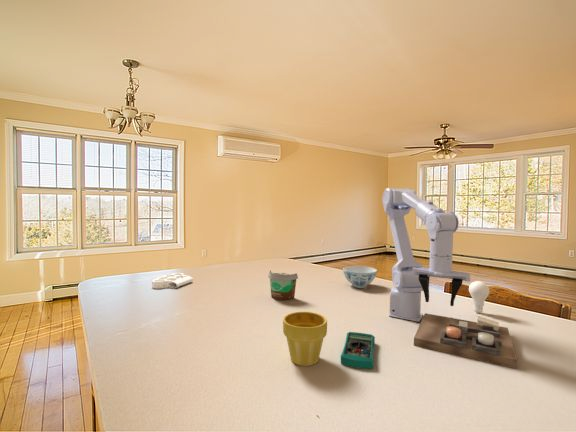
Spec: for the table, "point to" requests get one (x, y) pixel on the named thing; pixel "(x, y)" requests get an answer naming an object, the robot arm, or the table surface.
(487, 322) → the block
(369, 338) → the digital multimeter
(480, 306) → the lightbulb
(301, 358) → the plant pot
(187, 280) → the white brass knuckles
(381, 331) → the table surface
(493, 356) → the brown flat wooden tray
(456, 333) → the peach egg shape
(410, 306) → the robot arm
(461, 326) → the light grey small block
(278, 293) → the food container
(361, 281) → the chinaware
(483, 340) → the cream egg shape
